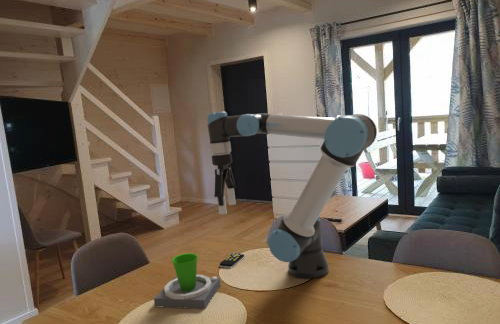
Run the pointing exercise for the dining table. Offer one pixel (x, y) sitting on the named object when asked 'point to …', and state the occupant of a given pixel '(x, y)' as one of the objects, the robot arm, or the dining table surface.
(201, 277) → the square coaster tray
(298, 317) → the dining table surface
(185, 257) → the cup
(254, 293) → the dining table surface
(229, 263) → the remote control
